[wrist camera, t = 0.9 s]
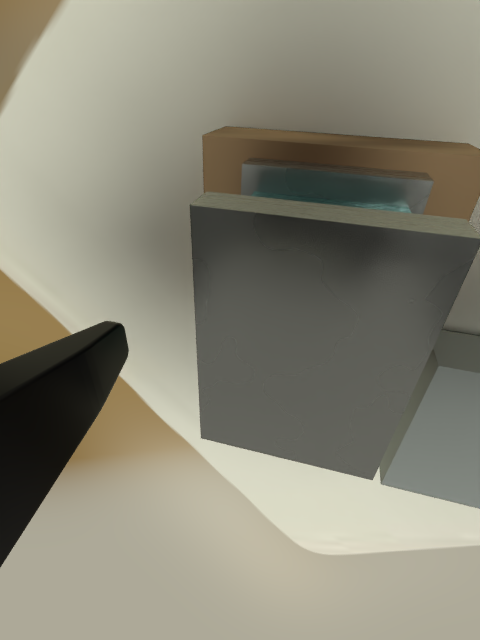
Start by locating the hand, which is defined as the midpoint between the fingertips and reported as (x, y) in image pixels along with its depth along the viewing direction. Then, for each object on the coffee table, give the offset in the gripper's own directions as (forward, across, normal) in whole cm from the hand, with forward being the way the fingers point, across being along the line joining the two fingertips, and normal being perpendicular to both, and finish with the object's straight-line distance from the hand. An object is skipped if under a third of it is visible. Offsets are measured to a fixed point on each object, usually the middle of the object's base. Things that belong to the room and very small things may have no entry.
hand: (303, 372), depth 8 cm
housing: (+5, 0, 0) cm, 5 cm away
